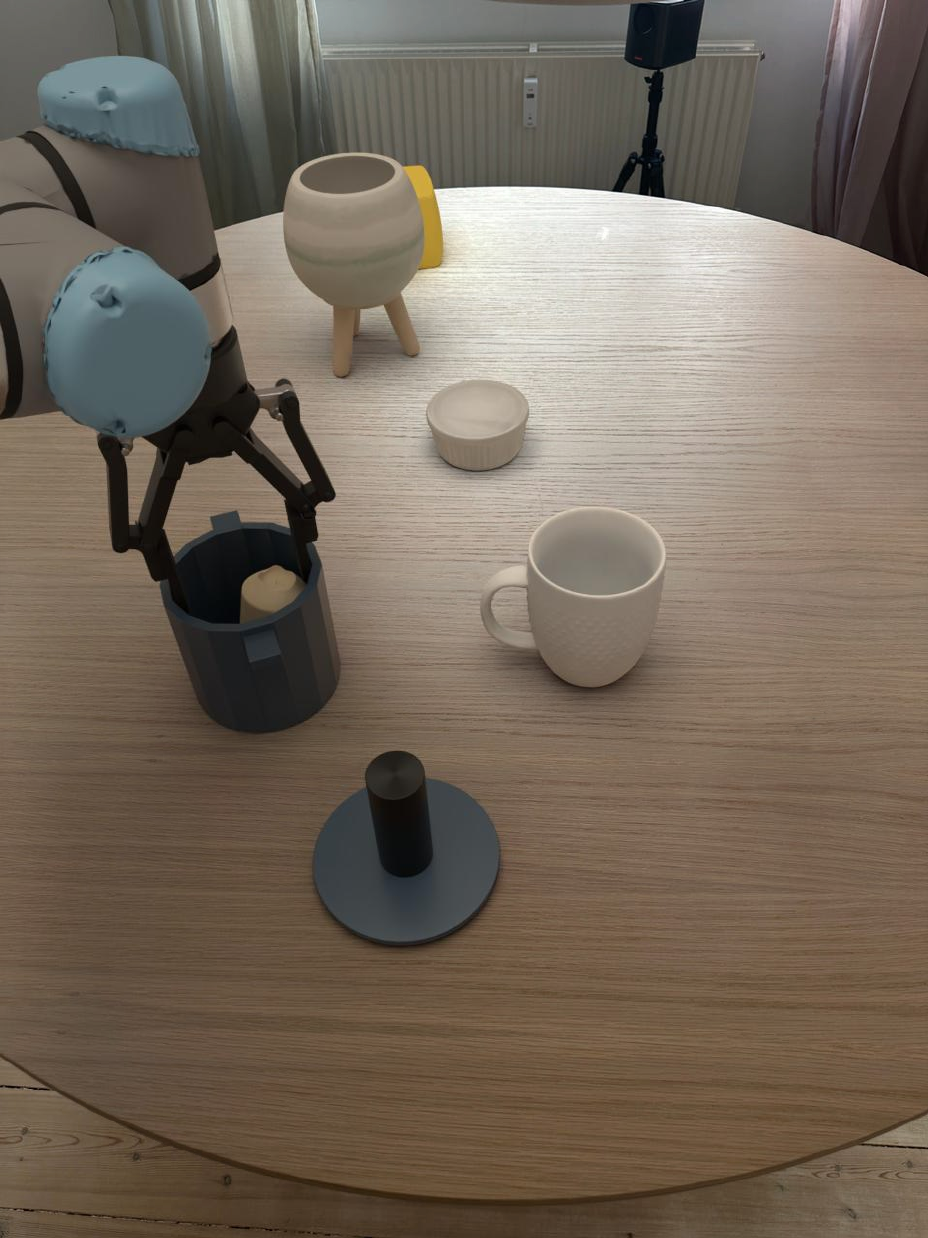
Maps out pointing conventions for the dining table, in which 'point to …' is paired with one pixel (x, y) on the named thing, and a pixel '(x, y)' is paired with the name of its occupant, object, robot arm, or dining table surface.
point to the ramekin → (478, 423)
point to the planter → (355, 241)
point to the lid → (405, 855)
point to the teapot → (428, 216)
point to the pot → (252, 629)
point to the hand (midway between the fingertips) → (244, 586)
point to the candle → (268, 592)
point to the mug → (586, 593)
